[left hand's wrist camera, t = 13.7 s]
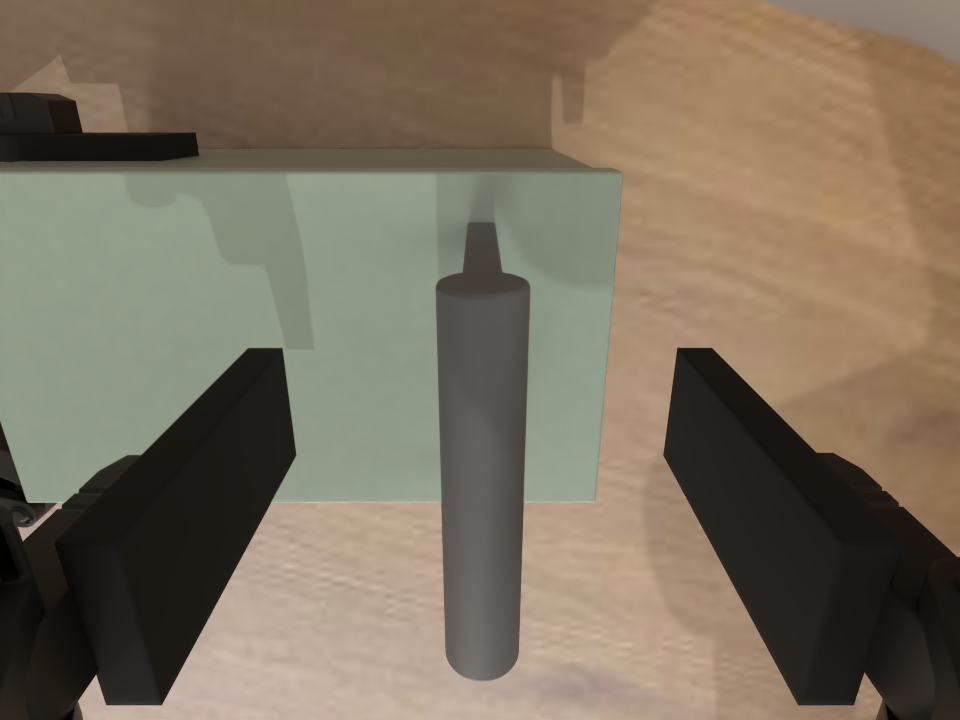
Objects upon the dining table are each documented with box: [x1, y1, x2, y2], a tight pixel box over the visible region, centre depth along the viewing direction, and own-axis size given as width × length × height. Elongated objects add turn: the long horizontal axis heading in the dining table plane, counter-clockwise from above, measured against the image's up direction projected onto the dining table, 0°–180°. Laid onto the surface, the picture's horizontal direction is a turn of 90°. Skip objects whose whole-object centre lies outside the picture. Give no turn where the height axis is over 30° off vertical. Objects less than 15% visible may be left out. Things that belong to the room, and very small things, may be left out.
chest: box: [0, 148, 592, 168], centre depth 22 cm, size 17×10×10 cm, turn 90°
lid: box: [0, 168, 623, 681], centre depth 14 cm, size 17×10×8 cm, turn 90°
